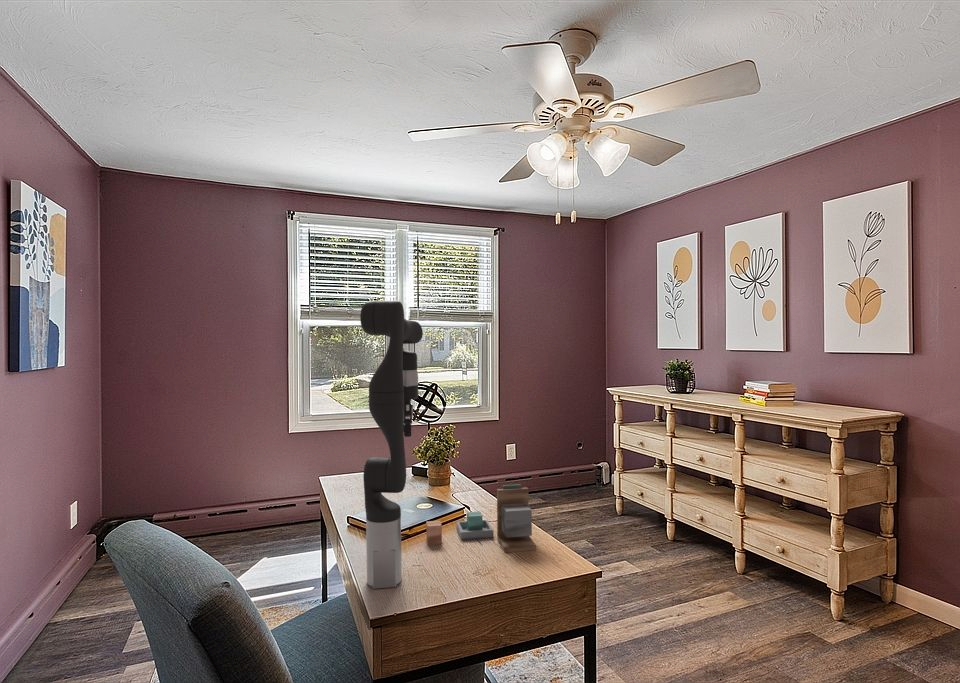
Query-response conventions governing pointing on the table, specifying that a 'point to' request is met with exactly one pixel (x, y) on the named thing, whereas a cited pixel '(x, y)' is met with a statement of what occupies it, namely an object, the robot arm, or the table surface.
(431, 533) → the terracotta block
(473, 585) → the table surface
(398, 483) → the robot arm
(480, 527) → the teal block
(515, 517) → the mounted unit
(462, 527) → the tray
